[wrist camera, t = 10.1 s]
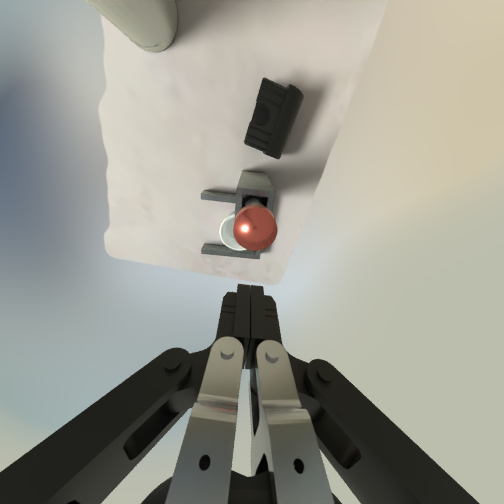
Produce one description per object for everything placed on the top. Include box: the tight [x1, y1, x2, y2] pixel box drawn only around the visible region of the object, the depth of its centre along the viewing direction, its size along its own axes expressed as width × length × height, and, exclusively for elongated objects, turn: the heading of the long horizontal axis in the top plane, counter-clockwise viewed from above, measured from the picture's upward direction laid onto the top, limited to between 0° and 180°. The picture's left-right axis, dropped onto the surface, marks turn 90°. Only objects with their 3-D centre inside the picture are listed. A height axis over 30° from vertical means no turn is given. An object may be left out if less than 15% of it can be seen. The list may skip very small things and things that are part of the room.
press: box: [201, 171, 275, 259], centre depth 37 cm, size 19×14×18 cm
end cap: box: [244, 78, 304, 159], centre depth 34 cm, size 10×7×7 cm
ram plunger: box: [233, 195, 277, 251], centre depth 24 cm, size 4×4×11 cm
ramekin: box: [220, 212, 247, 250], centre depth 45 cm, size 9×9×4 cm
